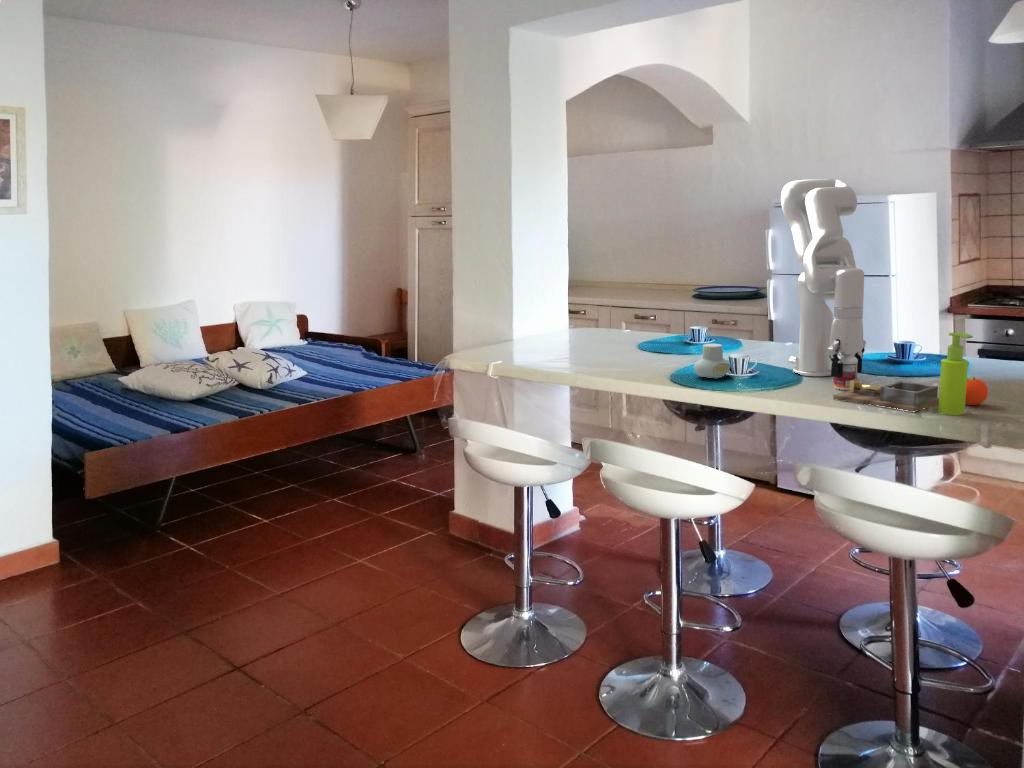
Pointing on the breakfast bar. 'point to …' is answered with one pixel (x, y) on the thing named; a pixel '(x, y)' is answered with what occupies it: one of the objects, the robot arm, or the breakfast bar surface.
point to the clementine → (975, 391)
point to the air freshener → (712, 362)
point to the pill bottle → (847, 372)
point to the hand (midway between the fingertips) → (846, 374)
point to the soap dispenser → (953, 378)
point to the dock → (895, 396)
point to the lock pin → (863, 386)
